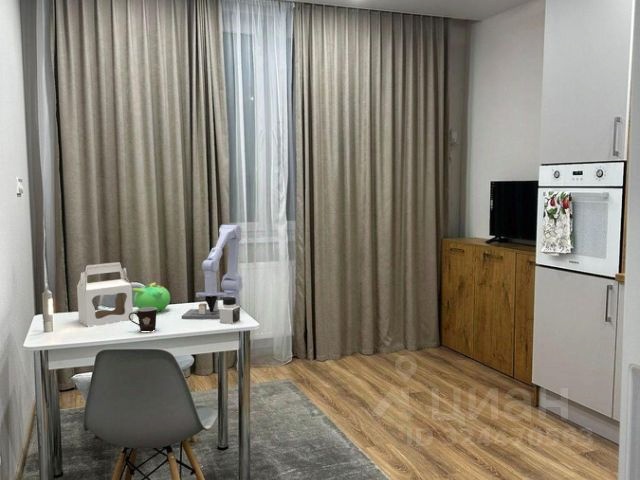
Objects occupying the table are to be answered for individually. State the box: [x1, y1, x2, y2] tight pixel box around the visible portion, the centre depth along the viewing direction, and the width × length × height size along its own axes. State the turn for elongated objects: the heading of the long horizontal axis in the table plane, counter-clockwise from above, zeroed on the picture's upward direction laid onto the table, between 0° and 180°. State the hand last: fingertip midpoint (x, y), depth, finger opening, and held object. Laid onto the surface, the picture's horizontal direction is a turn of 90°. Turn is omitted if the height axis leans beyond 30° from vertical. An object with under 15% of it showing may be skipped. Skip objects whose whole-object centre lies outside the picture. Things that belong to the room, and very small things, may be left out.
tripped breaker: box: [198, 303, 208, 314], centre depth 286 cm, size 3×3×5 cm
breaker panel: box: [181, 308, 220, 320], centre depth 290 cm, size 15×19×2 cm
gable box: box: [76, 261, 134, 327], centre depth 281 cm, size 22×13×28 cm, turn 129°
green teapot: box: [132, 282, 171, 312], centre depth 299 cm, size 18×17×15 cm
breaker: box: [214, 300, 219, 311], centre depth 293 cm, size 3×3×5 cm
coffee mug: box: [129, 307, 158, 332], centre depth 262 cm, size 12×9×10 cm
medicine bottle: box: [219, 296, 241, 325], centre depth 276 cm, size 7×7×12 cm
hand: (211, 311), depth 286 cm, fingers closed
